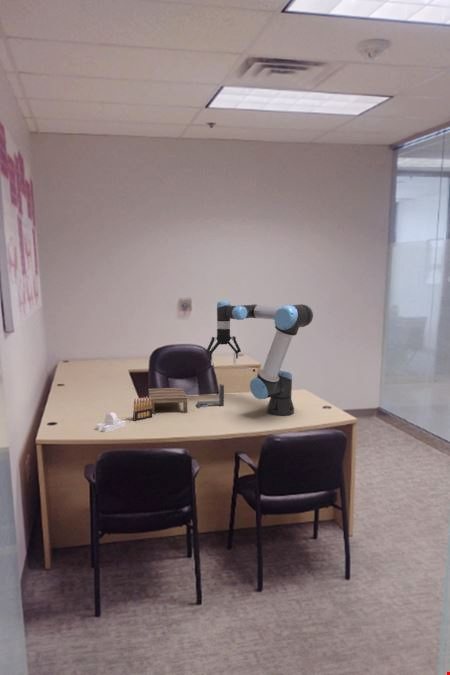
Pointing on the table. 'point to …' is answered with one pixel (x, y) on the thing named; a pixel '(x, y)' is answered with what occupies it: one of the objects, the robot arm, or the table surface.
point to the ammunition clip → (142, 409)
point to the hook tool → (220, 401)
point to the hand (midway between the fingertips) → (223, 364)
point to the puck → (203, 405)
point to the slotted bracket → (110, 423)
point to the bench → (168, 396)
